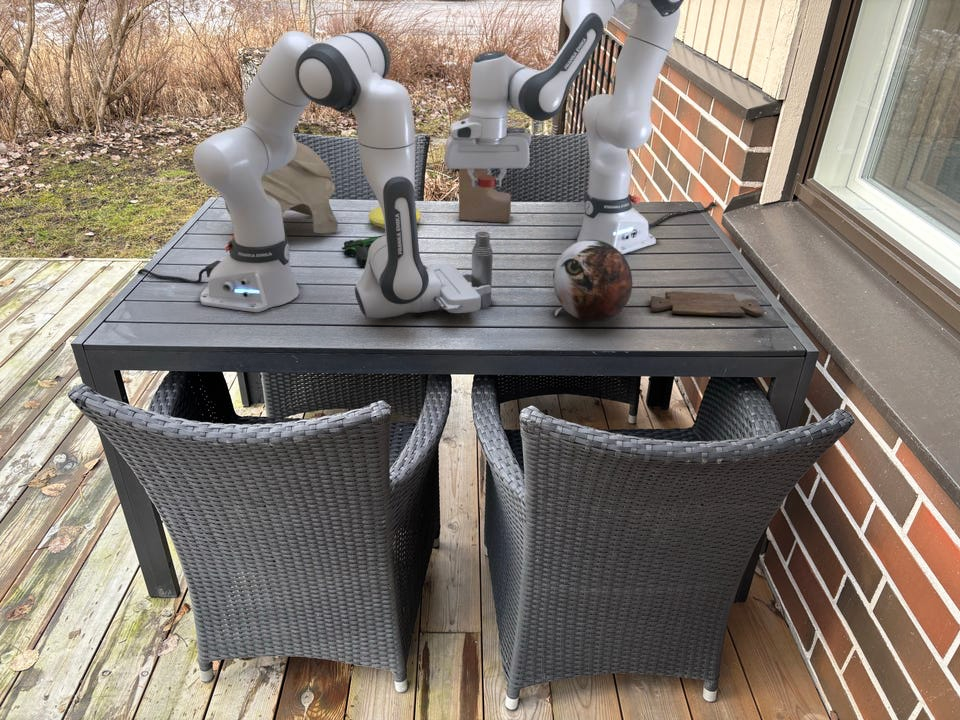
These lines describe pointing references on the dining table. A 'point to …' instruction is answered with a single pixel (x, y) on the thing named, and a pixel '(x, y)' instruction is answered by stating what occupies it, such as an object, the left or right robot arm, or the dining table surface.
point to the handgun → (358, 249)
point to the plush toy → (592, 281)
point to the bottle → (482, 265)
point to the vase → (378, 218)
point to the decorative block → (481, 198)
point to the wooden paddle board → (705, 304)
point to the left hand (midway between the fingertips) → (484, 282)
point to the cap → (486, 180)
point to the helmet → (304, 188)
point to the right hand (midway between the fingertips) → (486, 186)
